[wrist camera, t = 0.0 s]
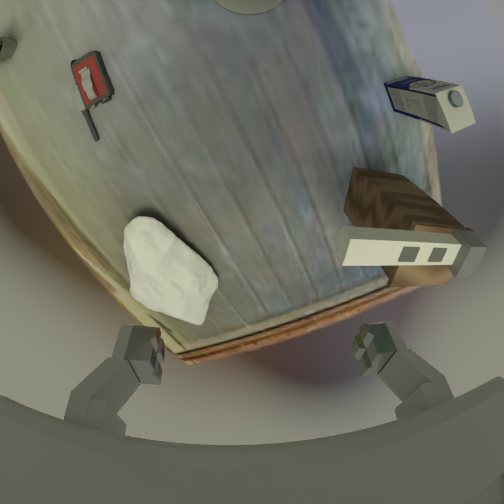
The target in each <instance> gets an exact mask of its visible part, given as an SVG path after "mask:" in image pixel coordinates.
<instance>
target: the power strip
mask: <svg viewBox="0 0 504 504" xmlns="http://www.w3.org/2000/svg"><path fill="white" fill-rule="evenodd" d="M486 249H487V247H486V246H485V245H484V244H483V243H482V242H481V241H480V240H479V239H478V238H477V237H476V236H475V235H474V234H473V233H472V232H471V231H468V230H460V229H454V230H453V232H452V234H446V233H434V232H422V231H410V230H396V229H382V228H366V227H350V226H342V230H341V234H340V237H339V241H338V245H337V248H336V254H337V256H338V258H339V260H340V262H341V264H342V266H383V265H446V266H447V267H448V269H449V270H450V271H451V272H452V274H453V275H454V276H455V277H472V276H473V274H474V272H475V270H476V268H477V267H478V264H479V263H480V261H481V259H482V257H483V255H484V253H485V251H486Z"/></svg>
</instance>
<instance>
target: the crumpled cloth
mask: <svg viewBox="0 0 504 504" xmlns="http://www.w3.org/2000/svg"><path fill="white" fill-rule="evenodd" d="M123 246H124V254H125V256H126V259H127V265H128V272H129V276H130V281H131V287H130V292H131V294H132V296H133V297H134V298H135V299H136V300H138V301H140V302H141V303H142V304H143V305H144V306H145V307H146V308H148V309H151V310H154V311H158V312H162V313H164V314H166V315H170V316H172V317H175V318H179V319H181V320H184V321H187V322H190V323H192V324H197V325H201V324H203V323H204V320H205V317H206V312H207V310H208V308H209V302H210V299H211V298H212V295H213V293H214V292H215V291H216V289H217V288H218V278H217V275H216V274H215V273H214V272H213V269H212V267H211V266H209V264H208V263H207V262H206V261H205V260H204V259H203V258H202V257H201V256H200V255H198V254H197V253H196V252H195V251H194V250H192V249H191V248H190V247H189V246H188V245H186V244H185V243H184V242H183V241H182V240H181V239H179V238H178V237H176V235H175V234H174V233H173V232H172V231H171V230H169V229H167V228H166V227H165V226H164V224H163V223H162V222H160V221H158V220H156V219H155V218H153V217H146V216H137V217H136V218H134V219H132V220H131V221H130V223H128V224H127V226H126V227H125V229H124V244H123Z"/></svg>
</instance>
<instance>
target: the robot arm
mask: <svg viewBox="0 0 504 504" xmlns="http://www.w3.org/2000/svg"><path fill="white" fill-rule="evenodd" d="M216 1H217V2H218V3H219V4H220V5H221V6H222V7H224V8H226V9H228V10H230V11H233V12H236V13H241V14H259V13H263V12H267V11H269V10H271V9H273V8H275V7H277V6H278V5H279V4H280V3H281V2H282V1H283V0H216ZM160 336H161V331H160V328H158V327H148V326H138V325H127V324H123V325H122V326H121V327H120V330H119V333H118V337H117V340H116V343H115V347H114V350H113V354H112V357H111V358H110V357H108V358H107V359H106V360H105V361H104V362H102V363H101V364H100V365H99V366H98V367H97V368H96V369H95V370H94V371H93V372H91V373H90V374H89V375H88V376H87V377H86V378H85V379H84V380H83V381H82V382H81V383H80V384H79V385H77V386H76V387H75V388H74V389H73V390H72V391H71V394H70V397H69V401H68V405H67V408H66V412H65V416H64V420H62V419H59V418H56V417H53V416H51V415H48V414H45V413H42V412H40V411H37V410H34V409H32V408H30V407H27V406H24V405H22V404H20V403H18V402H16V401H14V400H11V399H9V398H7V397H5V396H1V395H0V504H504V379H503V378H502V377H496V378H494V379H491V380H490V381H488V382H486V383H484V384H482V385H480V386H478V387H477V388H475V389H473V390H471V391H469V392H467V393H464V394H462V395H460V396H458V397H456V398H454V397H453V394H452V392H451V390H450V387H449V385H448V383H447V381H446V378H445V376H444V375H443V374H441V373H440V372H439V371H438V370H436V369H435V368H434V367H433V366H431V365H430V364H429V363H427V362H426V361H425V360H424V359H422V358H421V357H420V356H418V355H417V354H416V353H415V352H413V351H412V350H411V349H407V347H406V345H405V343H404V341H403V339H402V337H401V335H400V333H399V331H398V329H397V327H396V325H395V323H394V322H393V321H387V322H377V323H368V324H362V325H361V326H360V328H359V334H357V335H356V336H355V337H354V339H353V343H352V351H353V355H354V357H355V358H357V359H358V360H359V361H358V364H357V366H358V370H359V372H360V376H361V377H366V376H372V375H378V377H379V378H380V379H381V380H382V381H383V382H384V383H385V384H386V385H387V386H388V387H389V388H390V389H391V391H393V392H394V394H395V395H396V396H397V397H398V398H399V399H400V400H401V401H402V403H401V404H400V405H399V406H398V407H396V409H395V413H396V417H397V420H395V421H392V422H388V423H385V424H382V425H378V426H374V427H370V428H366V429H362V430H358V431H354V432H349V433H344V434H339V435H335V436H328V437H323V438H316V439H310V440H302V441H294V442H285V443H274V444H260V445H259V444H258V445H200V444H184V443H173V442H164V441H156V440H149V439H141V438H136V437H130V436H125V432H126V424H125V422H124V421H123V420H122V419H121V418H120V417H119V416H118V415H117V413H118V412H119V410H120V409H121V408H122V407H123V405H124V404H125V403H126V402H127V400H128V399H129V398H130V397H131V396H132V394H133V393H134V392H135V391H136V389H137V388H138V387H139V386H140V383H144V384H157V385H160V384H161V376H162V369H161V366H160V365H161V364H162V363H163V362H164V356H165V355H164V354H165V347H164V341H163V339H162V338H160Z"/></svg>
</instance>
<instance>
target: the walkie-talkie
mask: <svg viewBox="0 0 504 504" xmlns="http://www.w3.org/2000/svg"><path fill="white" fill-rule="evenodd" d="M104 65H105V64H104V62H103V60H102V56H101V54H100V52H97V51H90V52H88V53H87V54H85V55H84V56H82V57H81V58H79V59H78V60H72V61H71V69H72V72H73V75H74V79H75V81H76V85H75V91H74V96H73V97H74V100H75V103H76V105H77V108H78V112H81V111H82V113H83V116H85V119H86V121H87V124H88V126H89V128H90V131H91V133H92V136H93V138H94V140H95V141H98V140H99V137H98V135H97V133H96V130H95V128H94V126H93V123H92V121H91V118H90V116H89V114H88V113H89V112H88V109H87V108H90V107H91V109H94V108H95V107H96V106H95V105H96V104H98V103H100V102H101V103H102V104H103V103H105V102H107V101H109V100H111V98H110V96H112V95H113V94H114V89H113V86H112V84H111V81H110V78H109V76H108V74H107V70H106V68H105V66H104Z"/></svg>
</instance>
